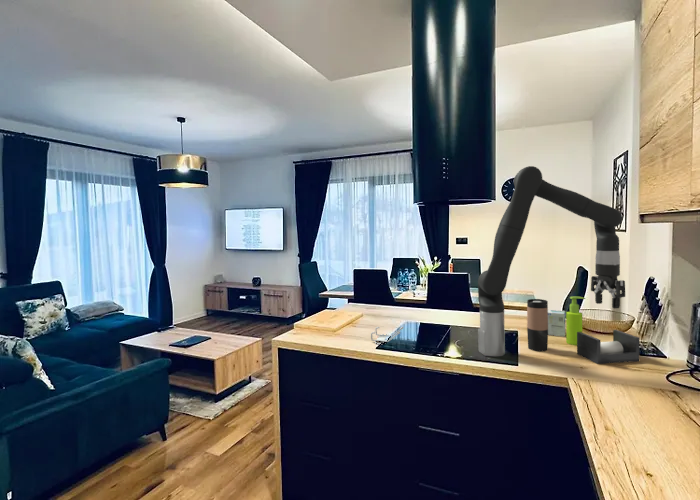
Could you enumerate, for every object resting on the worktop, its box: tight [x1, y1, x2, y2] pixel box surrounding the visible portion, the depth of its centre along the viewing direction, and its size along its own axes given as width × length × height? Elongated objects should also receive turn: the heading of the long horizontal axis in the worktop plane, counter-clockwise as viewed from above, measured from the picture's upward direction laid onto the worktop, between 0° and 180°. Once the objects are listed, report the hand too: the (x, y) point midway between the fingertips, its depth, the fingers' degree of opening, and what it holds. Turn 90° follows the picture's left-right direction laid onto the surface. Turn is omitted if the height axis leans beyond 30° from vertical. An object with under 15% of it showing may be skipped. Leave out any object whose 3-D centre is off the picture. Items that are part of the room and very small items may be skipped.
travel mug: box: [526, 298, 549, 352], centre depth 154 cm, size 8×8×20 cm
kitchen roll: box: [600, 340, 623, 354], centre depth 142 cm, size 11×5×5 cm
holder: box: [576, 329, 640, 365], centre depth 142 cm, size 16×11×9 cm
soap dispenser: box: [565, 295, 586, 346], centre depth 159 cm, size 6×7×20 cm
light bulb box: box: [548, 309, 566, 338], centre depth 175 cm, size 11×7×11 cm, turn 58°
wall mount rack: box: [370, 326, 404, 345], centre depth 174 cm, size 16×14×6 cm
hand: (607, 305), depth 141 cm, fingers open, 8 cm apart
